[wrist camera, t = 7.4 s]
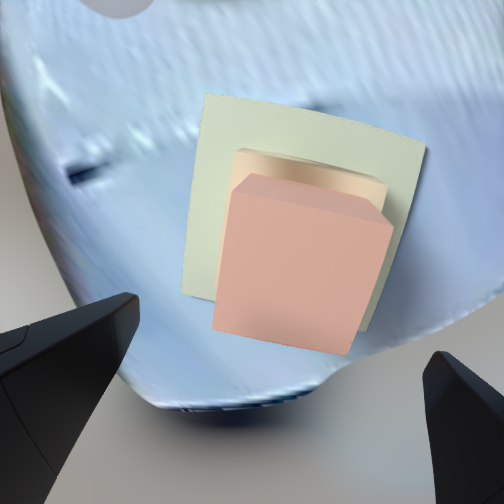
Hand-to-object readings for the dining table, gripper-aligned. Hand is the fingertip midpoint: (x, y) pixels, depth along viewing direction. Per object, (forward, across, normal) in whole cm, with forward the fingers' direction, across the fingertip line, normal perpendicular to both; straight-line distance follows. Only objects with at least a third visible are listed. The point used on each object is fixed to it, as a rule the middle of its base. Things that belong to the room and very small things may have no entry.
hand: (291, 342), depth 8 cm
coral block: (+9, 0, 0) cm, 9 cm away
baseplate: (+13, 0, 0) cm, 13 cm away
